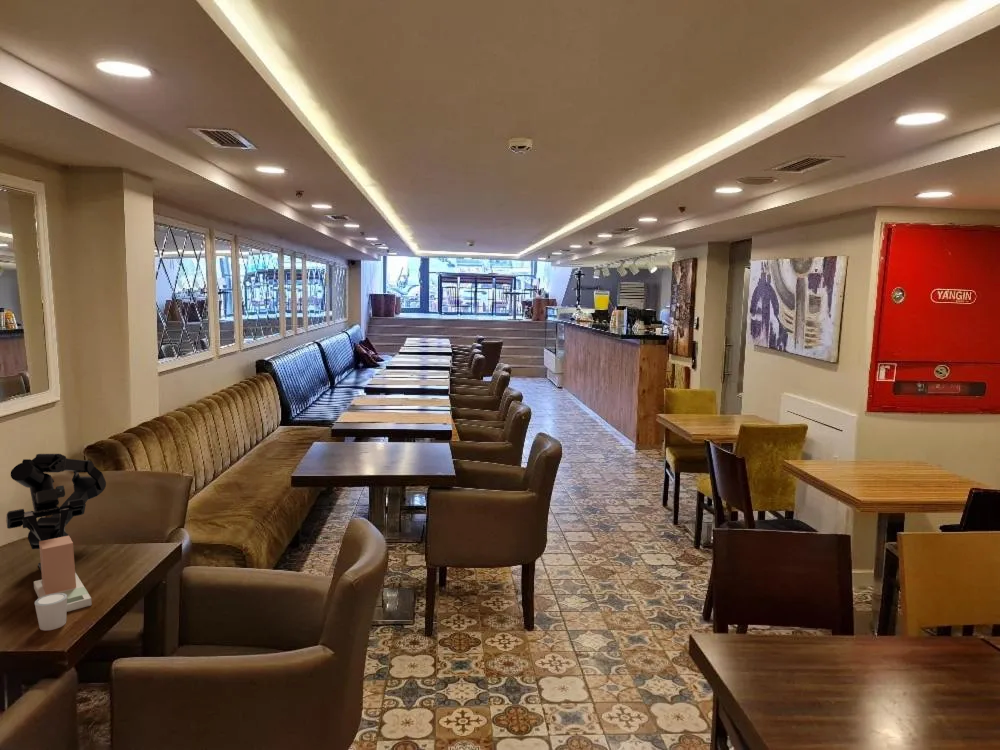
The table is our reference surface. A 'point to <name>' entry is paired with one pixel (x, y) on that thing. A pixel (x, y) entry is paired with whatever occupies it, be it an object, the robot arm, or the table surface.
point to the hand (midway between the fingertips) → (51, 538)
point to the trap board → (69, 594)
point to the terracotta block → (57, 564)
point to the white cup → (51, 611)
